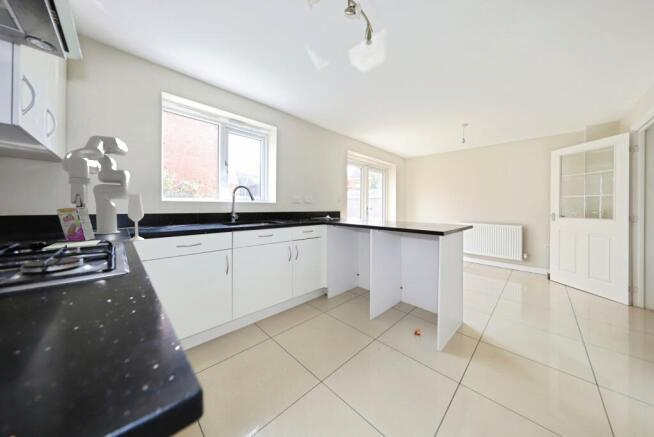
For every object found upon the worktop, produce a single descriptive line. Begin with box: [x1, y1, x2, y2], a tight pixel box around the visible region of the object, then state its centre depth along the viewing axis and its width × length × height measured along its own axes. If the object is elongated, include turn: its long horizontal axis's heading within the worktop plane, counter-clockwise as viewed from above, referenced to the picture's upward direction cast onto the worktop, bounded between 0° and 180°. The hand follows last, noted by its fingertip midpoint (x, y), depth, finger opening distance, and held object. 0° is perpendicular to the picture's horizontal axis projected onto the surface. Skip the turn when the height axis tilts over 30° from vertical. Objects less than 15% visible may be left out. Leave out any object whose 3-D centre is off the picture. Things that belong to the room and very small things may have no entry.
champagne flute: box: [127, 193, 145, 242], centre depth 123 cm, size 7×7×24 cm
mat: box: [42, 239, 101, 250], centre depth 107 cm, size 18×15×1 cm
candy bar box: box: [56, 206, 96, 242], centre depth 115 cm, size 11×5×16 cm, turn 84°
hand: (81, 217), depth 119 cm, fingers closed
